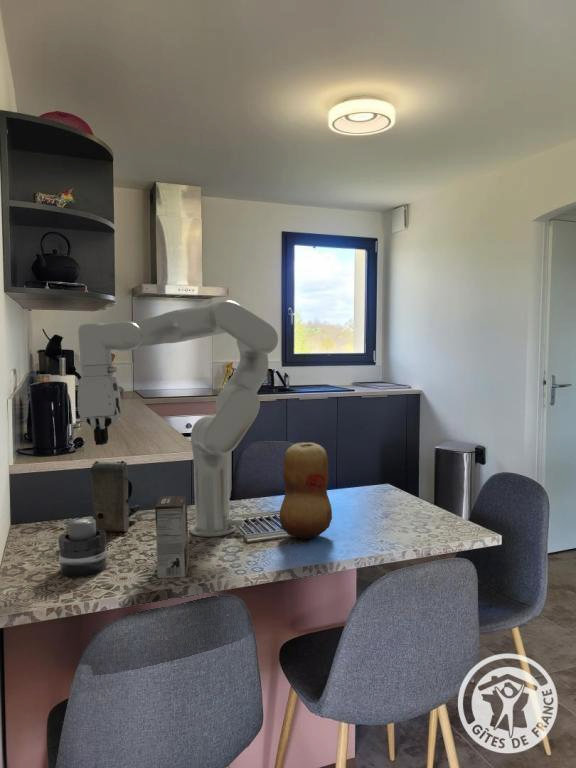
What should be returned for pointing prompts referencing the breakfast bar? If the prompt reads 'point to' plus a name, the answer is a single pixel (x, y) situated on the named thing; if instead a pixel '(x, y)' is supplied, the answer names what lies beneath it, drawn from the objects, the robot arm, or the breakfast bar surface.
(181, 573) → the coffee box
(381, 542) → the breakfast bar surface
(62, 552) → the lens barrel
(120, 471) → the vintage camera
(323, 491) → the butternut squash
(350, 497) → the breakfast bar surface
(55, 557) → the breakfast bar surface
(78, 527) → the white rounded cube
